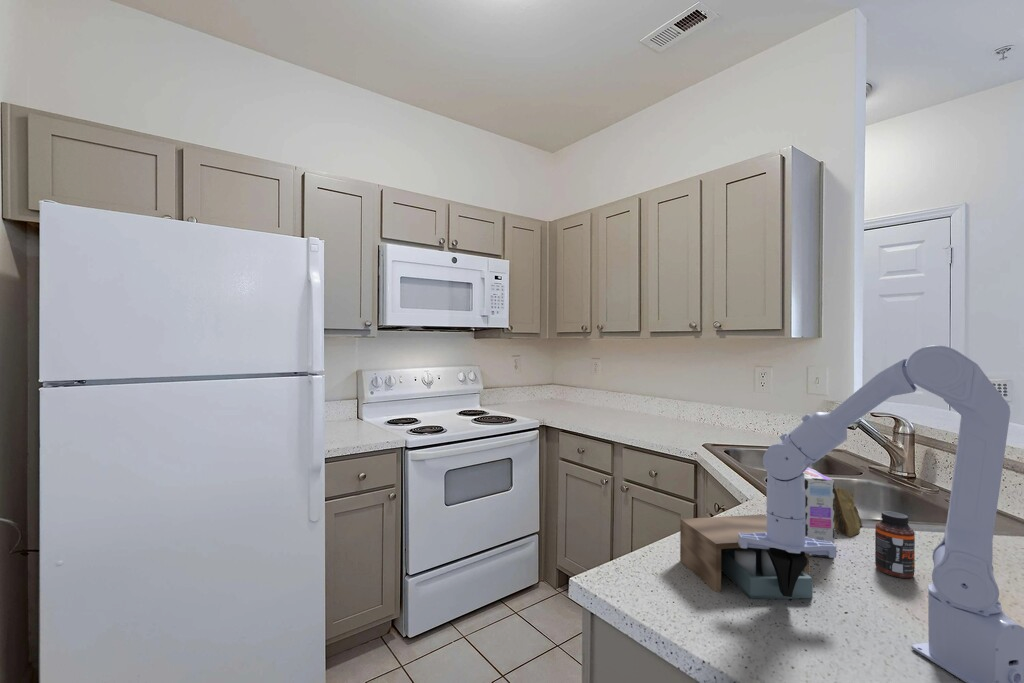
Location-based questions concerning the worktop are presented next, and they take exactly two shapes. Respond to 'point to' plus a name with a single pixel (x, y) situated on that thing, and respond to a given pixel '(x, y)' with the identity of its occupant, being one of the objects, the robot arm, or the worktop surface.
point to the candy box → (819, 507)
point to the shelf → (716, 543)
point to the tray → (759, 574)
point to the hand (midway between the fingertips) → (785, 593)
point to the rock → (845, 513)
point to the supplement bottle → (895, 545)
